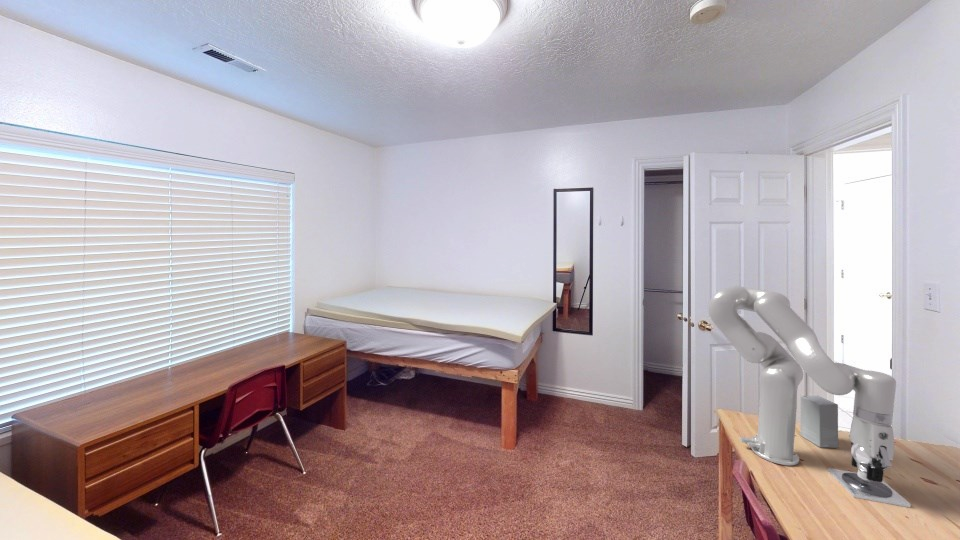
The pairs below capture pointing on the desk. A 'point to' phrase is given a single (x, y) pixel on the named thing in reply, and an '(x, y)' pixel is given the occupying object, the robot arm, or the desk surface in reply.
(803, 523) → the desk surface
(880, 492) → the duct plate
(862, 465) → the light bulb
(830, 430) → the skincare box
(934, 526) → the desk surface
